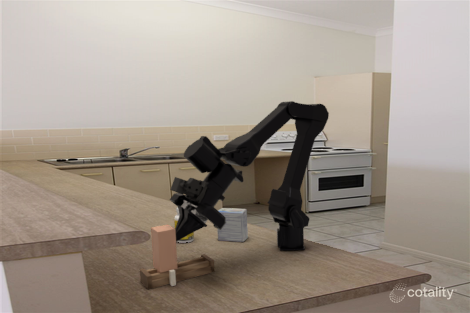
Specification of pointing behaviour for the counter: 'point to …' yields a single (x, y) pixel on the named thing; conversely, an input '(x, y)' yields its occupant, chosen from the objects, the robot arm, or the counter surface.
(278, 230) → the robot arm
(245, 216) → the medicine box
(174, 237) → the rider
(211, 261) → the wooden tray
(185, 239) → the supplement bottle
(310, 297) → the counter surface
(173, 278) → the pair of white blocks
